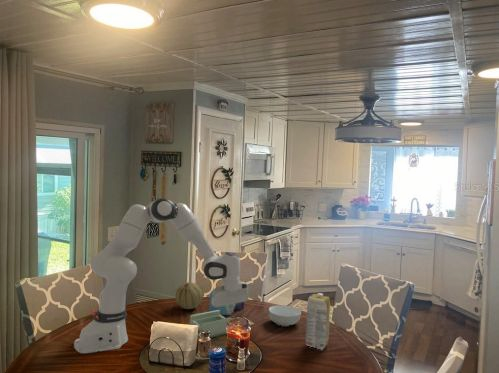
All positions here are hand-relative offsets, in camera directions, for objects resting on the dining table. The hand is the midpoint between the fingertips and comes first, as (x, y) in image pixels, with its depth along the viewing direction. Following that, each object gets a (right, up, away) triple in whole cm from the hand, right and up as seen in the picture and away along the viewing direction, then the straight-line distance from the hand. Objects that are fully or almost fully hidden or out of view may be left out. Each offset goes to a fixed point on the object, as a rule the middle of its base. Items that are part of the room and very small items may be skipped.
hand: (229, 312), depth 199 cm
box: (-9, -7, -6) cm, 13 cm away
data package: (-6, -7, +18) cm, 20 cm away
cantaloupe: (-24, -5, +24) cm, 34 cm away
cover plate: (+4, -8, +3) cm, 9 cm away
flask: (+2, -6, +26) cm, 27 cm away
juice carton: (+40, -10, -18) cm, 45 cm away
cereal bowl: (+28, -8, +8) cm, 30 cm away
